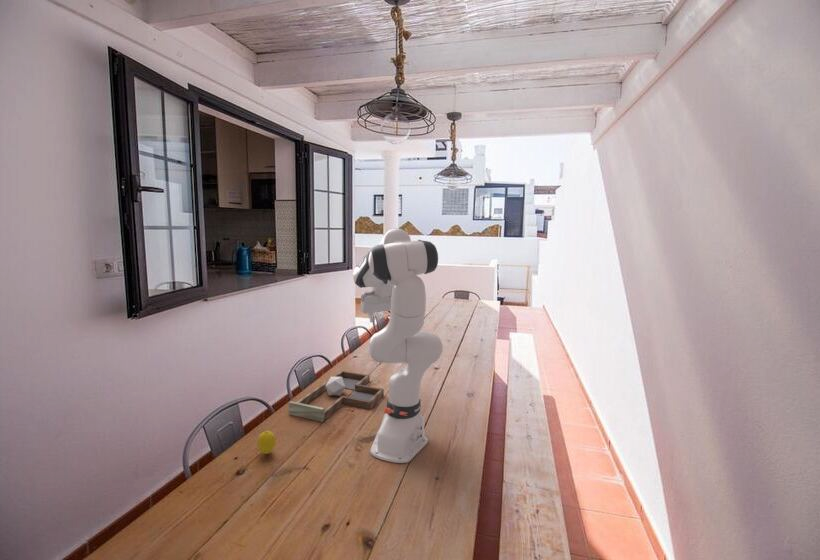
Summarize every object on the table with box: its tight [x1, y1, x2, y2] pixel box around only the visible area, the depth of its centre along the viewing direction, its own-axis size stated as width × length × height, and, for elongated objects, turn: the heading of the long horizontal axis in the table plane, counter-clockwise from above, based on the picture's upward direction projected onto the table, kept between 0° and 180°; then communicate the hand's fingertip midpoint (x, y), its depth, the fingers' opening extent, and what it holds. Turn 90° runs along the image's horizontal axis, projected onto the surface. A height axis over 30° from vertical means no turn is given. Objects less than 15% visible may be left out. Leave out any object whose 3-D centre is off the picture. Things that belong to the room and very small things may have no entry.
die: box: [326, 376, 346, 397], centre depth 169 cm, size 8×9×10 cm
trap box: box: [288, 370, 385, 423], centre depth 166 cm, size 42×28×5 cm, turn 161°
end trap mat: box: [343, 378, 360, 391], centre depth 181 cm, size 10×12×1 cm
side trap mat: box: [348, 390, 374, 401], centre depth 166 cm, size 11×12×1 cm
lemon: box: [256, 430, 277, 455], centre depth 123 cm, size 6×6×8 cm
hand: (381, 320), depth 169 cm, fingers open, 8 cm apart
